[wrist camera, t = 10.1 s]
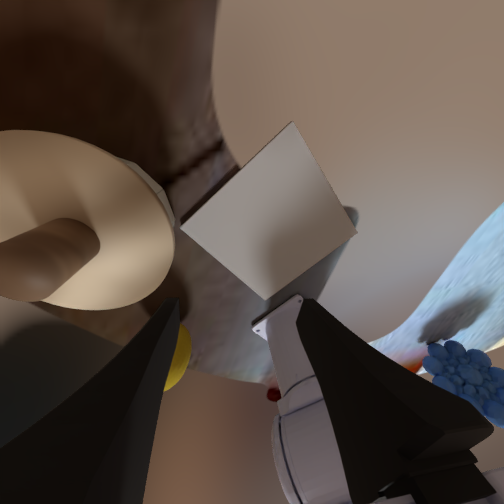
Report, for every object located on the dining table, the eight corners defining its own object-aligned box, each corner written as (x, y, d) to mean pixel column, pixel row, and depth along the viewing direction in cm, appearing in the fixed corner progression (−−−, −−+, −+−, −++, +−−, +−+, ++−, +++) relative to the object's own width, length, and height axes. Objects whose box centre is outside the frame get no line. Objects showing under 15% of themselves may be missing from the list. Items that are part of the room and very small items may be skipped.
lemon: (146, 304, 22) (112, 376, 15) (196, 306, 23) (187, 374, 16) (148, 337, 24) (119, 412, 17) (193, 337, 26) (183, 408, 19)
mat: (354, 230, 21) (357, 232, 21) (264, 297, 24) (265, 300, 24) (290, 121, 16) (292, 120, 15) (181, 225, 18) (180, 227, 18)
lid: (209, 237, 14) (205, 273, 10) (113, 324, 17) (78, 381, 13) (21, 69, 9) (-147, 3, 5) (-79, 233, 12) (-246, 281, 7)
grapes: (397, 365, 38) (465, 448, 27) (404, 343, 34) (485, 429, 24) (452, 349, 38) (541, 426, 28) (465, 327, 35) (571, 404, 24)
